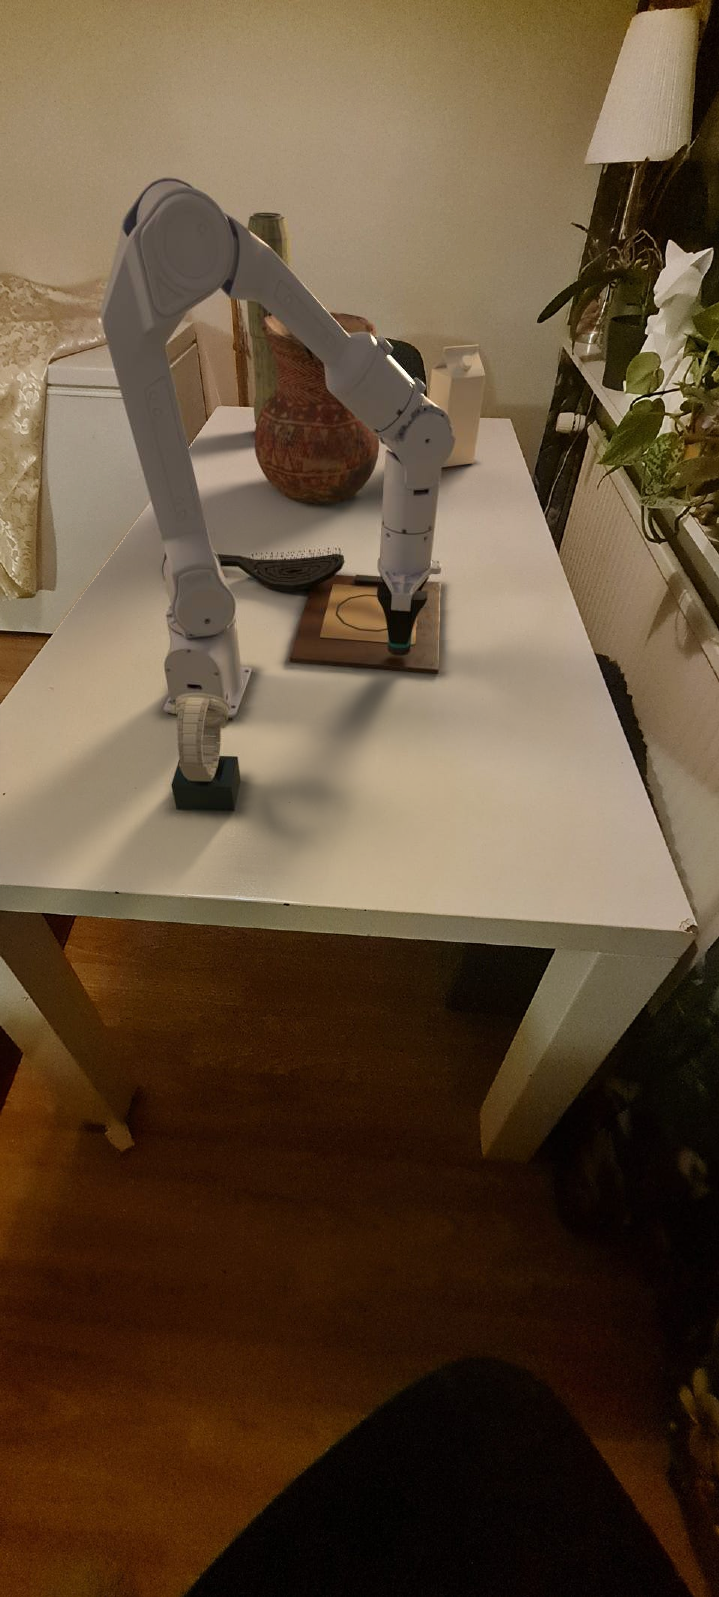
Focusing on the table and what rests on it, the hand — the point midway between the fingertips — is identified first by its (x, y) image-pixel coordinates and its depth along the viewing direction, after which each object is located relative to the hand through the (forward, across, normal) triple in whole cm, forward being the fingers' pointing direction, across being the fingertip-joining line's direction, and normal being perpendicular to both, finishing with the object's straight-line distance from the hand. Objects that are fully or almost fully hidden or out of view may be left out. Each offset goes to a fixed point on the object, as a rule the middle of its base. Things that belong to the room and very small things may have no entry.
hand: (399, 635), depth 84 cm
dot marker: (+2, 0, 0) cm, 2 cm away
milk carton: (+4, +71, -6) cm, 71 cm away
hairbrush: (+3, +18, +21) cm, 28 cm away
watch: (+3, -26, +17) cm, 31 cm away
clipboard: (+3, +8, +4) cm, 10 cm away
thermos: (+3, +79, +29) cm, 84 cm away
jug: (+3, +52, +17) cm, 55 cm away
